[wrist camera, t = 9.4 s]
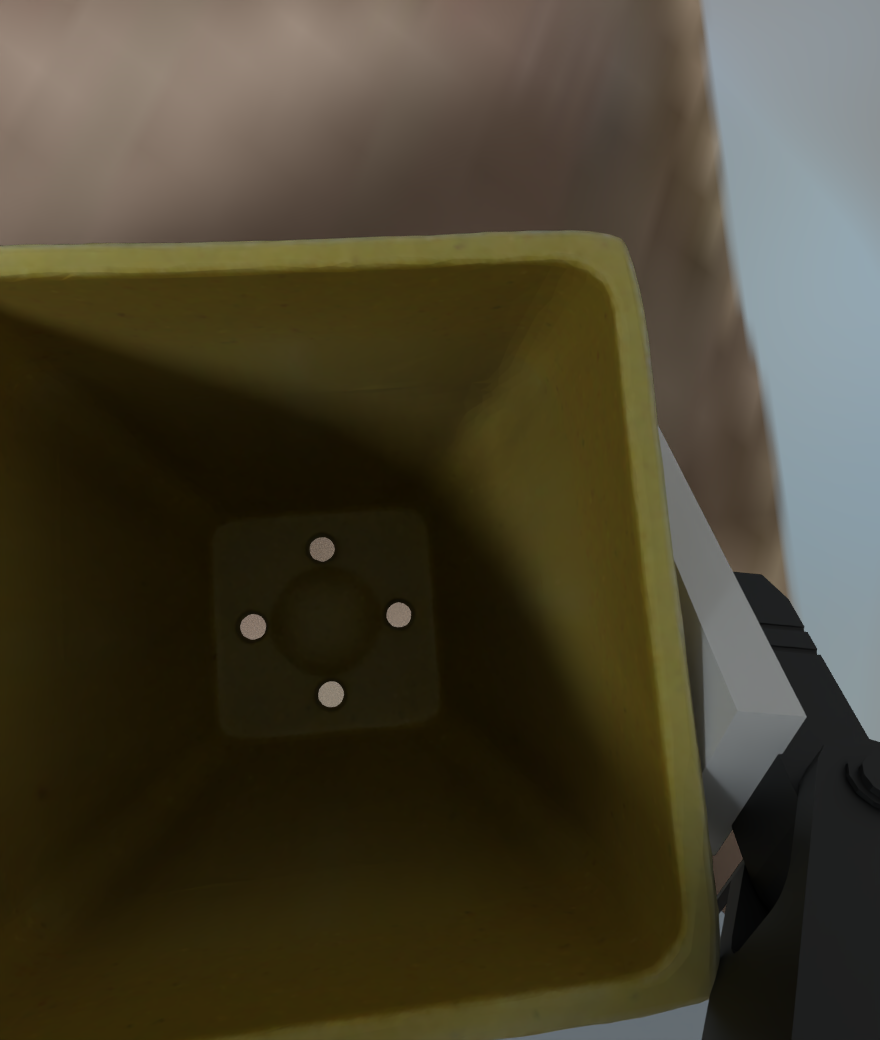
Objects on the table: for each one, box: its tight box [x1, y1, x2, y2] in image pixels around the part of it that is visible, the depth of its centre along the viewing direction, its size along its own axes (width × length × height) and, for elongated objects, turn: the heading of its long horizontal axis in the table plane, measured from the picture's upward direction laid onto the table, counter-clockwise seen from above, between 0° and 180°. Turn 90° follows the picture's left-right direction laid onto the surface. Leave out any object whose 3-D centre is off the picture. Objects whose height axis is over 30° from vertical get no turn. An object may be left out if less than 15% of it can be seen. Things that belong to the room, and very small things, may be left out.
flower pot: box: [0, 230, 720, 1040], centre depth 12 cm, size 9×9×9 cm
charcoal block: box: [495, 911, 725, 1040], centre depth 25 cm, size 13×13×5 cm
